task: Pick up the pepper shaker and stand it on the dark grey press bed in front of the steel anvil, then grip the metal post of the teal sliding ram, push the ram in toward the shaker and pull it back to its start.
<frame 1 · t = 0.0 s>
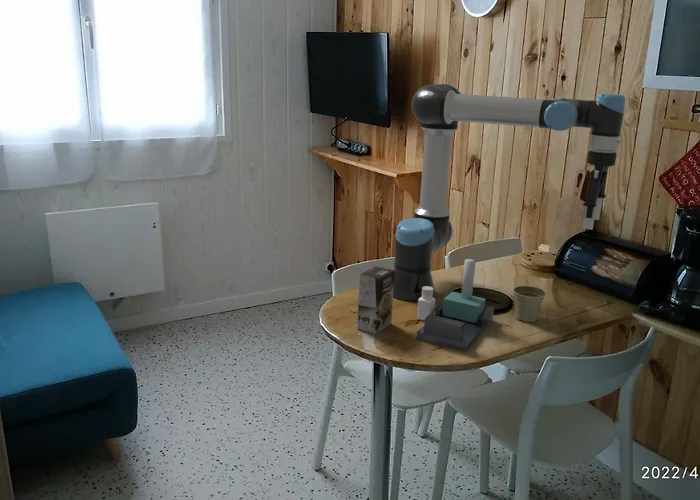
hand: (590, 224, 177), 28 cm above the table, tool pointing down, fingers open, 13 cm apart
flower pot: (525, 319, 180), on the table
pepper shaker: (425, 319, 177), on the table
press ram: (465, 288, 172), point 10 cm above the table, slide at 0.0 cm
coffee box: (374, 326, 170), on the table
press bed: (455, 329, 170), on the table
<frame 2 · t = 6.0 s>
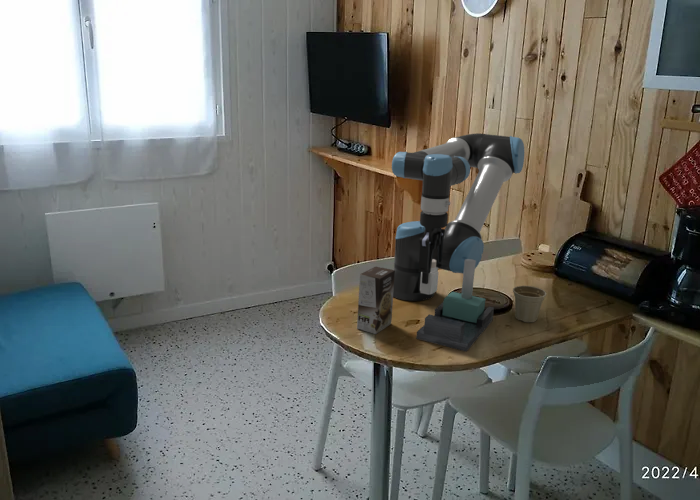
hand: (428, 290, 174), 9 cm above the table, tool pointing down, fingers closed on pepper shaker, 4 cm apart
pepper shaker: (428, 292, 175), point 8 cm above the table, touching gripper
everything else where it was.
when the fingers open (3 cm above the table, at t = 10.7 s): pepper shaker stays where it is, resting on press bed.
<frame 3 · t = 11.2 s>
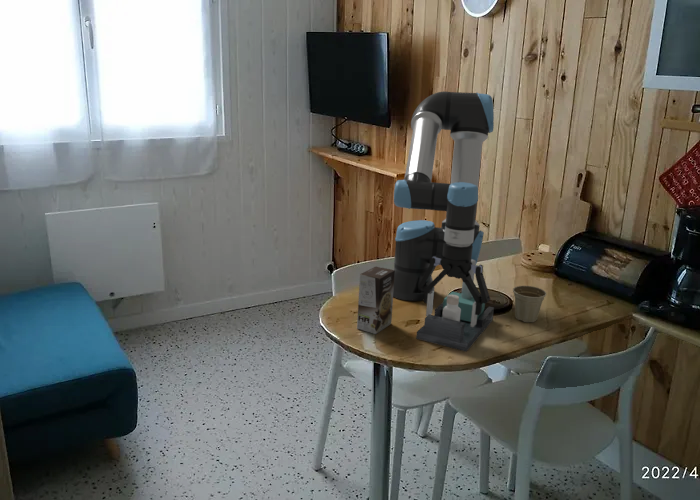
hand: (450, 319, 164), 5 cm above the table, tool pointing down, fingers open, 12 cm apart
pepper shaker: (449, 330, 165), point 2 cm above the table, touching press bed
everything else where it was.
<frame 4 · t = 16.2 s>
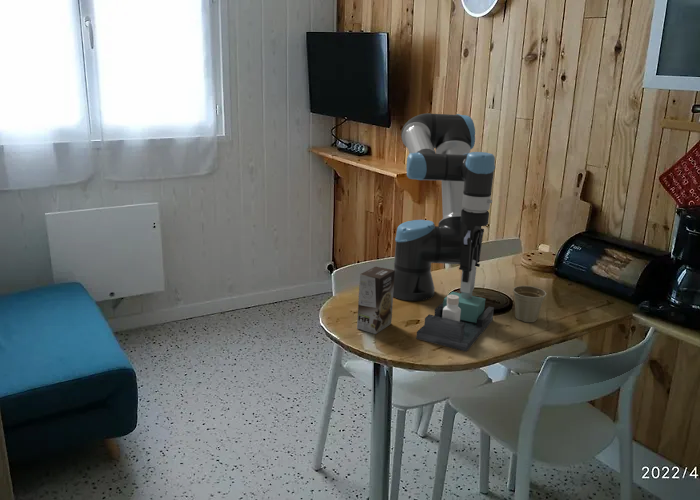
hand: (467, 289, 173), 10 cm above the table, tool pointing down, fingers closed on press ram, 3 cm apart
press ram: (465, 288, 172), point 10 cm above the table, slide at 0.0 cm, touching gripper
everything else where it was.
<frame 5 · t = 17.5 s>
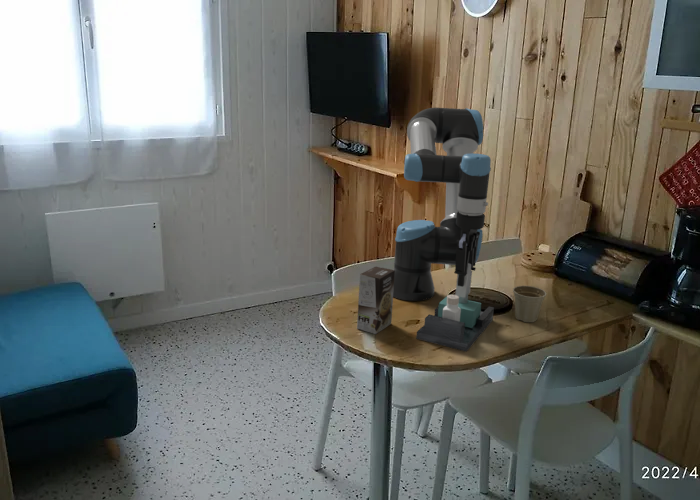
hand: (462, 294, 170), 10 cm above the table, tool pointing down, fingers closed on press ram, 3 cm apart
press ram: (461, 293, 169), point 10 cm above the table, slide at 4.0 cm, touching gripper
everything else where it was.
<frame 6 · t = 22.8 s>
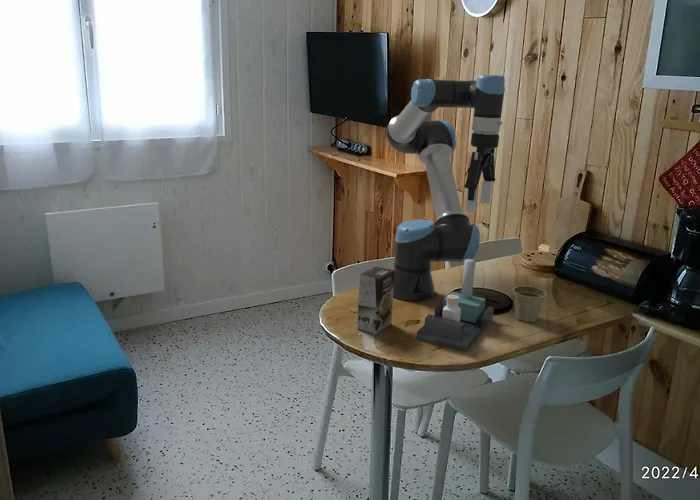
hand: (477, 207, 175), 32 cm above the table, tool pointing down, fingers open, 13 cm apart
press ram: (465, 288, 172), point 10 cm above the table, slide at 0.1 cm
everything else where it was.
at the end: pepper shaker 0.1 cm from the target spot on the press bed, point 1.8 cm above the press bed's base; pepper shaker tilted 0°; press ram slide at 0.1 cm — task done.
